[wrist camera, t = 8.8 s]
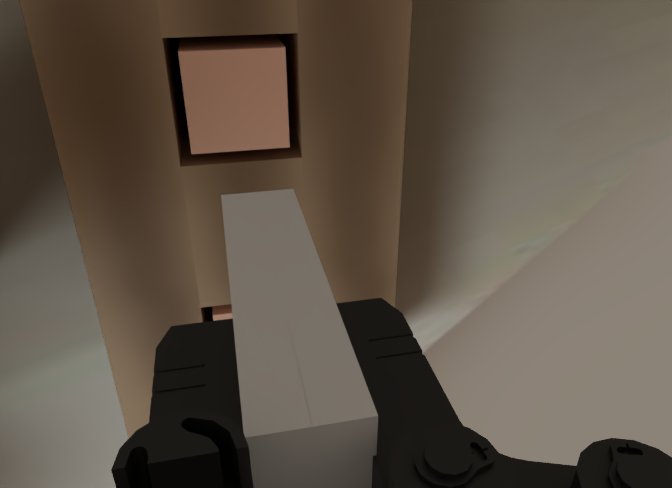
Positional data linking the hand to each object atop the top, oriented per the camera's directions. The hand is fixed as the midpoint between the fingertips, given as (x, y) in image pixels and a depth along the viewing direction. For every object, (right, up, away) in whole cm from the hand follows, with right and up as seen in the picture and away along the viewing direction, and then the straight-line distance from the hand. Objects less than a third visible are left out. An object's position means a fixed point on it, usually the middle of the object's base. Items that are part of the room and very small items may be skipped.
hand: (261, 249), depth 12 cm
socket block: (-4, +3, +18) cm, 19 cm away
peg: (-4, +8, +15) cm, 18 cm away
